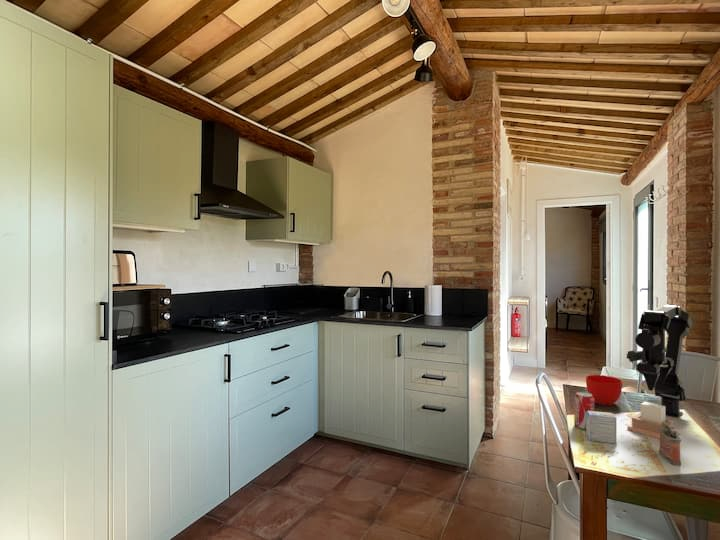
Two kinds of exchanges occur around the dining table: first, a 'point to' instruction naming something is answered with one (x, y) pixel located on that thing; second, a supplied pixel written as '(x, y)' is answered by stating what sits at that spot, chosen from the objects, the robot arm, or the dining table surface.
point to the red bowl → (604, 388)
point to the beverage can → (582, 408)
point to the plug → (653, 412)
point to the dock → (648, 426)
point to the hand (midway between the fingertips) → (655, 387)
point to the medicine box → (601, 426)
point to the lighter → (669, 445)
